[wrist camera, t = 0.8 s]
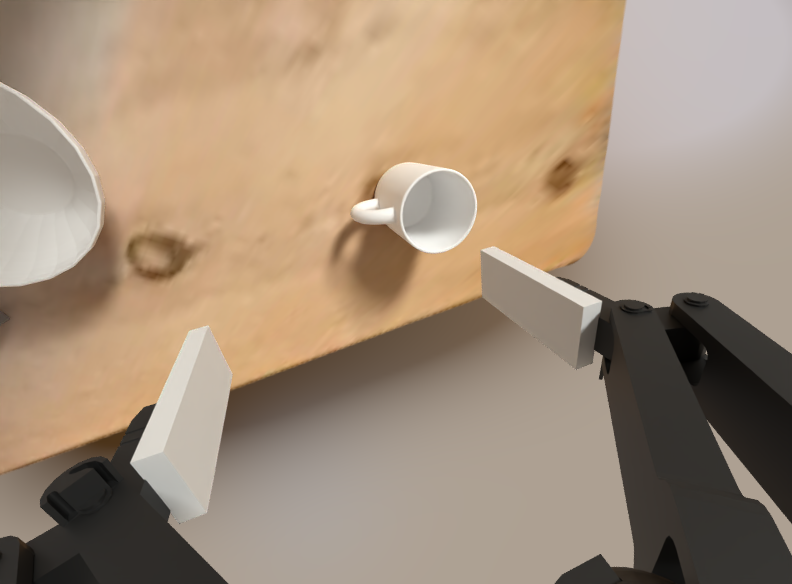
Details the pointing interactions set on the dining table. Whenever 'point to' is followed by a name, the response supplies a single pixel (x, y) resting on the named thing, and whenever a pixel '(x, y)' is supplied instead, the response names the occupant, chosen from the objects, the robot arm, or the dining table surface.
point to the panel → (3, 317)
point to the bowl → (43, 194)
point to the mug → (422, 206)
